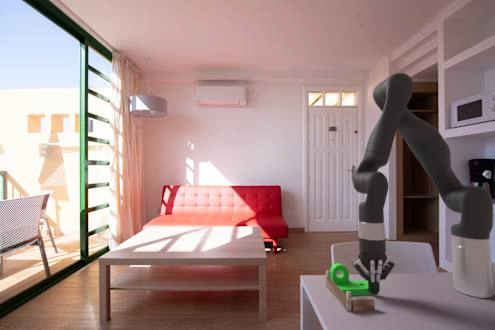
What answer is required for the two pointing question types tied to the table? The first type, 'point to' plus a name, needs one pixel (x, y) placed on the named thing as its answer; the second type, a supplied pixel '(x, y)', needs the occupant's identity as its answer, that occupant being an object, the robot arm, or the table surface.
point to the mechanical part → (344, 282)
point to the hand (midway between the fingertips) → (374, 293)
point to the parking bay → (349, 297)
